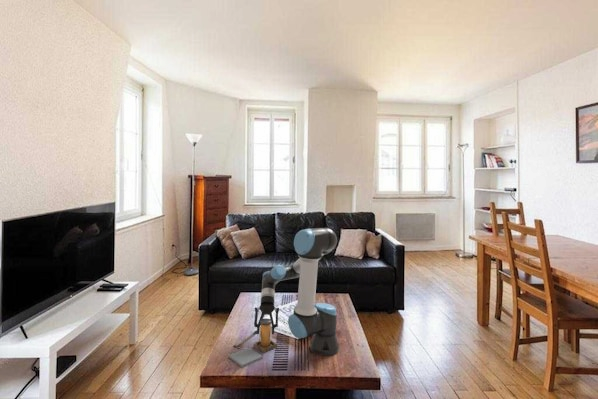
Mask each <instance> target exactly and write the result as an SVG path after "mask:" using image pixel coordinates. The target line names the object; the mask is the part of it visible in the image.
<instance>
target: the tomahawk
mask: <svg viewBox="0 0 598 399" xmlns="http://www.w3.org/2000/svg"><path fill="white" fill-rule="evenodd" d="M256 335H257V329H256V330H255V331H254V332H253V333H252V334H251V335H249V336H248V337H246V338H245V339H244V340H243V341H241V342H240V343H238V345H236V344H234V345H233V348H235V349H238V350H241V348H243V347H242V345H244V344H245V343H246V342H248V341H249V340H250V339H251V338H252V337H254V336H256Z"/></svg>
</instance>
